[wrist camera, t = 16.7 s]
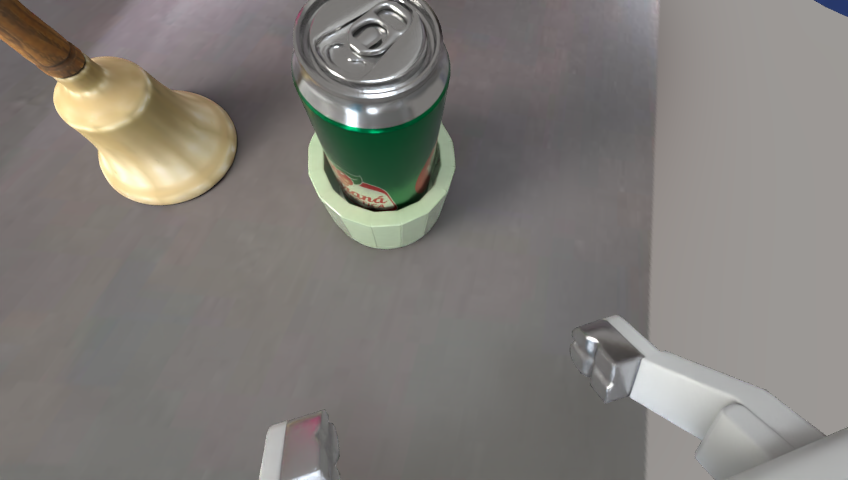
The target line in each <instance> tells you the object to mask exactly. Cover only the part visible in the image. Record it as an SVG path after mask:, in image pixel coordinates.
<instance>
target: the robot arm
mask: <svg viewBox="0 0 848 480" xmlns="http://www.w3.org/2000/svg"><path fill="white" fill-rule="evenodd" d="M572 337H573V338H574V339H575V340H574V341H573V342H572V344H571V345H570V355H571V358H572V361H573V363H574V365H575V366H576V368H577V369H578V370H579V372H580V373H581V374H583V375H585V376H587V377H589V378H590V385H591V387H592V388H593V389H594V390H595V392H596V393H597V394H598V395H599V397H600V398H601V399H602V400H603V402H604V403H605V404H606V403H609V402H612V401H615V400H618V399H621V398H624V397H627V396H630V398H632V399H633V400H635V401H637V402H638V403H640V404H642V405H643V406H645V407H647V408H648V409H650V410H652V411H654V412H655V413H657V414H659V415H661V416H662V417H664V418H665V419H667V420H669V421H670V422H672V423H674V424H675V425H677V426H679V427H680V428H682V429H684V430H685V431H687V432H689V433H690V434H692V435H694V436H695V437H697V438H699V439H700V440H702V441H701V443H700V445H699V447H698V448H697V450H696V451H695V458H696V460H697V461H698V462H699V463H700V464H701V465H702V466H703V467H704V469H705V470H706V471H707V472H708V473H709V474H710V475H711V476H712V477H713V479H714V480H848V427H847V428H845V429H842V430H840V431H838V432H836V433H833V434H831V435H828V436H826V435H824V434H823V433H822V432H820V431H819V430H818V429H817V428H815V427H814V426H813V425H811V424H810V423H809V422H807V421H806V420H805V419H803V418H802V417H801V416H800V415H798V414H797V413H796V412H794V411H793V410H792V409H790V408H789V407H788V406H786V405H785V404H784V403H783V402H781V401H780V400H779V399H777V398H776V397H774V396H773V395H772V394H771V393H769V392H768V391H767V390H765V389H763V388H760V387H758V386H755V385H753V384H750V383H747V382H745V381H742V380H740V379H737V378H735V377H732V376H730V375H727V374H724V373H722V372H719V371H716V370H714V369H711V368H709V367H706V366H704V365H701V364H699V363H696V362H693V361H691V360H688V359H686V358H683V357H681V356H678V355H675V354H673V353H670V352H668V351H662V352H661V351H660V350H658V349H657V348H656V347H655V346H654V345H653V344H652V343H651V342H649V341H648V340H647V339H646V338H645V337H644V336H643V335H641V334H640V333H639V332H638V331H637V330H636V329H635V328H633V327H632V326H631V325H630V324H629V323H628V322H627V321H626V320H624V319H623V318H622V317H621V316H618V315H613V316H610V317H607V318H604V319H600V320H597V321H594V322H591V323H588V324H585V325H582V326H579V327H576V328H574V330H573V331H572ZM339 457H340V455H339V441H338V435H337V432H336V428H335V426H334V425H333V423H330V422H328V414H327V412H326V410H325V409H324V410H320V411H317V412H314V413H311V414H307V415H304V416H301V417H298V418H294V419H291V420H287V421H284V422H281V423H278V424H275V425H272V426H270V428H269V430H268V433H267V437H266V443H265V449H264V454H263V460H262V466H261V472H260V477H259V480H340V473H339V471H338V469H337V468H336V466H335V464H336V463H337V461H338V459H339Z"/></svg>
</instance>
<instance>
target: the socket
mask: <svg viewBox="0 0 848 480" xmlns="http://www.w3.org/2000/svg"><path fill="white" fill-rule="evenodd" d="M455 167H456V164H455V155H454V146H453V142H452V139H451V138H450V136H449V134H448V133H447V131H446V129H445V127H444V126H443V124H442V122H441V125H440V130H439V135H438V141H437V146H436V151H435V156H434V161H433V166H432V171H431V176H430V181H429V186H428V191H427V193H426V194H425V195H424V196H423V197H422V198H421V199H420V200H419V201H418V202H416V203H413V204H411V205H409V206H407V207H404V208H402V209H400V210H398V211H381V212H373V211H370V210H367V209H364V208H361V207H358V206H355V205H352V204H350V203H348V202H347V201H346V199H345V197H344V195H343V193H342V190H341V188H340V186H339V184H338V181H337V179H336V177H335V175H334V173H333V170H332V168H331V166H330V164H329V161H328V159H327V157H326V155H325V152H324V150H323V148H322V146H321V144H320V141H319V139H318V137H317V135H316V132H315V134H314V136H313V138H312V140H311V142H310V144H309V148H308V173H309V177H310V179H311V181H312V183H313V185H314V187H315V190H316V192H317V194H318V196H319V198H320V200H321V201H322V203H323V204H324V206H325V207H326V209H327V210H328V212H329V213H330V215H331V216H332V218H333V220H334V221H335V223H336V224H337V225H338V226H339V227H340V228H341V229H342V230H343V231H344V232H345V233H346V234H347V235H348V236H349V237H351V238H352V239H353V240H355V241H357V242H359V243H361V244H363V245H366V246H369V247H373V248H379V249H393V248H399V247H403V246H406V245H409V244H411V243H413V242H415V241H417V240H419V239H420V238H421V237H423V236H424V235H425V234H426V233H427V232H428V231H429V230H430V229H431V228H432V227H433V225H434V224H435V222H436V221H437V220H438V218H439V216H440V213H441V210H442V207H443V204H444V201H445V199H446V196H447V193H448V190H449V187H450V184H451V181H452V178H453V175H454V172H455Z"/></svg>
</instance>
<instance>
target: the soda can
mask: <svg viewBox="0 0 848 480" xmlns="http://www.w3.org/2000/svg"><path fill="white" fill-rule="evenodd" d="M293 48H294V51H293V55H292V62H291V71H292V78H293V82H294V86H295V88H296V90H297V92H298V95H299V97H300V99H301V101H302V103H303V106H304V108H305V110H306V112H307V115H308V117H309V119H310V121H311V123H312V126H313V128H314V130H315V132H316V135H317V137H318V139H319V141H320V144H321V146H322V148H323V150H324V152H325V155H326V157H327V159H328V161H329V164H330V166H331V168H332V170H333V173H334V175H335V177H336V179H337V181H338V184H339V186H340V188H341V190H342V193H343V195H344V197H345V199H346V201H347V202H348V203H350V204H352V205H355V206H358V207H361V208H364V209H367V210H370V211H373V212H381V211H398V210H400V209H402V208H404V207H407V206H409V205H411V204H413V203H416V202H418V201H419V200H420V199H421V198H422V197H423V196H424V195H425V194H426V193H427V191H428V186H429V181H430V176H431V171H432V166H433V161H434V156H435V151H436V146H437V141H438V135H439V130H440V125H441V120H442V115H443V110H444V105H445V100H446V95H447V90H448V85H449V79H450V60H449V55H448V52H447V49H446V47H445V44H444V43H443V35H442V30H441V25H440V23H439V20H438V18H437V16H436V14H435V13H434V11H433V10H432V8H431V7H430V6H429V5H428V4H427V2H426V1H424V0H308V1H307V2H306V4H305V5H304V6H303V7H302V9H301V10H300V12H299V14H298V15H297V18H296V21H295V24H294V29H293Z"/></svg>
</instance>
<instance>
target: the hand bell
mask: <svg viewBox="0 0 848 480" xmlns="http://www.w3.org/2000/svg"><path fill="white" fill-rule="evenodd" d="M0 39H1V40H3V41H4V42H5V43H7V44H8V45H9V46H11V47H12V48H13V49H15V50H16V51H17V52H19V53H20V54H21V55H22V56H24V57H25V58H26V59H28V60H29V61H31V62H32V63H34V64H35V65H36V66H37V67H38V68H39V69H41V70H42V71H43V72H45V73H46V74H47V75H49V76H52V77H54V78H55V79H56V80H57V81H58V82H57V84H56V87H55V90H54V104H55V108H56V110H57V112H58V113H59V115H60V116H61V117H62V119H63V120H64V121H65V122H66V123H68V124H69V125H70V126H71V127H73V128H74V129H76V130H77V131H78V132H79V133H81V134H82V135H83V136H84V137H86V138H87V139H88V140H89V141H90V142H91V143H92V144H93V145H94V146H95V147H96V148H97V149H98V157H99V163H100V166H101V169H102V171H103V174H104V175H105V177H106V179H107V180H108V182H109V183H110V184H111V186H112V187H113V188H114V189H115V190H116V191H118V192H119V193H120V194H122V195H123V196H125V197H127V198H129V199H131V200H133V201H136V202H140V203H144V204H150V205H170V204H177V203H181V202H184V201H187V200H190V199H193V198H195V197H197V196H200V195H201V194H203V193H204V192H206V191H208V190H209V189H210V188H212V187H213V186H214V185H215V184H216V183H217V182H218V181H219V180H221V178H222V177H223V176H224V175H225V174H226V172H227V171H228V169H229V168H230V166H231V165H232V162H233V160H234V156H235V153H236V148H237V135H236V130H235V127H234V124H233V122H232V120H231V118H230V117H229V115H228V114H227V113H226V111H225V110H224V109H223V108H221V107H220V106H219V105H218V104H216V103H215V102H214V101H212V100H210V99H208V98H206V97H203V96H201V95H198V94H195V93H191V92H186V91H177V90H170V89H169V88H167V87H165V86H164V85H163V84H161V83H160V82H158V81H157V80H156V79H155V78H153V77H152V76H151V75H150V74H148V73H147V72H146V71H145V70H144V69H142V68H141V67H140V66H138V65H137V64H135V63H133V62H131V61H129V60H126V59H122V58H117V57H108V56H107V57H96V58H91V59H90V58H89V57H88V56H87V55H85V54H84V53H82V52H81V50H79V49H78V48H77V47H75V46H74V45H73V44H72V43H70V42H68V41H67V40H66V39H65V38H63V37H62V36H61V35H60V34H59V33H57V32H56V31H55V30H54V29H52V28H51V27H50V26H48V25H47V24H46V23H45V22H43V21H42V20H41V19H40V18H38V17H37V16H36V15H35V14H33V13H32V12H31V11H29V10H28V9H27V8H26V7H25V6H24V5H22V4H21V3H20V2H19V1H18V0H0Z"/></svg>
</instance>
